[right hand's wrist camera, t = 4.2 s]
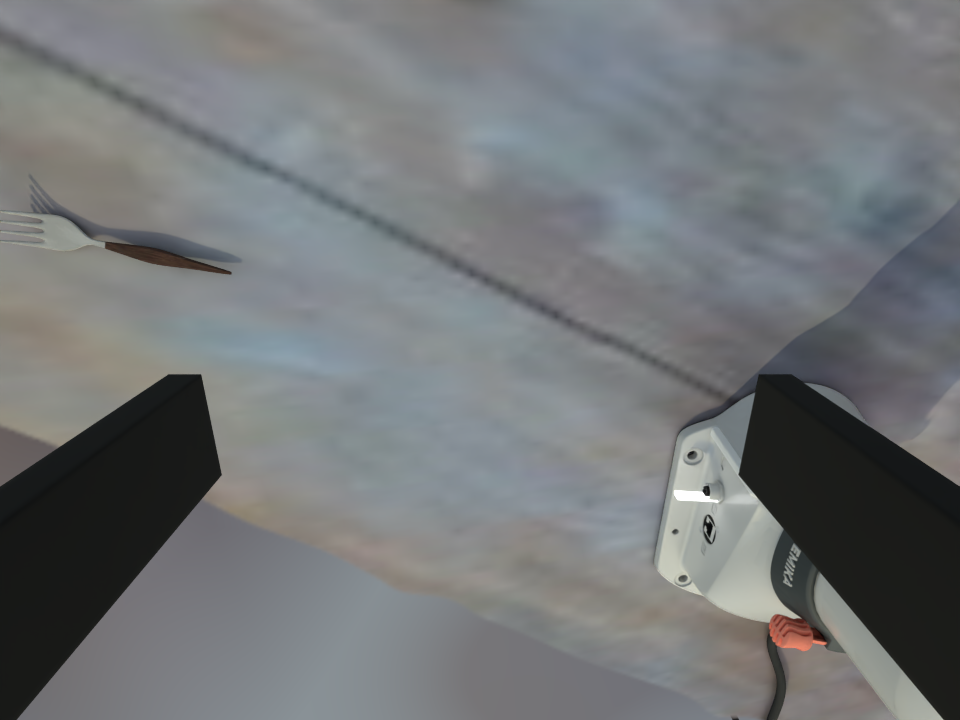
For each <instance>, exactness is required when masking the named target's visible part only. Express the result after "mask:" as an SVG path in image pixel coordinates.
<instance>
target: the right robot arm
mask: <svg viewBox="0 0 960 720" xmlns="http://www.w3.org/2000/svg"><path fill="white" fill-rule="evenodd" d="M221 475H222V474H221V469H220V464H219V459H218V454H217V450H216V445H215V440H214V435H213V430H212V425H211V420H210V415H209V411H208V406H207V401H206V396H205V391H204V386H203V381H202V376H201V374H169V375H167V376H166V377H164V378H163V379H161V380H160V381H158V382H157V383H155V384H154V385H152V386H151V387H149V388H148V389H146V390H145V391H143V392H142V393H140V394H139V395H137V396H136V397H134V398H133V399H131V400H130V401H128V402H127V403H125V404H124V405H122V406H121V407H119V408H118V409H116V410H115V411H113V412H112V413H110V414H109V415H107V416H106V417H104V418H103V419H101V420H100V421H98V422H97V423H95V424H94V425H92V426H91V427H89V428H88V429H86V430H85V431H83V432H82V433H80V434H79V435H77V436H76V437H74V438H73V439H71V440H70V441H68V442H67V443H65V444H64V445H62V446H61V447H59V448H58V449H56V450H55V451H53V452H52V453H50V454H49V455H47V456H46V457H44V458H43V459H41V460H40V461H38V462H37V463H35V464H34V465H32V466H31V467H29V468H28V469H26V470H25V471H23V472H22V473H20V474H19V475H17V476H16V477H14V478H13V479H11V480H10V481H8V482H7V483H5V484H4V485H2V486H1V487H0V720H17V719H18V717H19V716H20V715H21V714H22V713H23V711H24V710H25V709H26V708H27V707H28V706H29V704H30V703H31V702H32V701H33V700H34V698H35V697H36V696H37V695H38V694H39V692H40V691H41V690H42V689H43V688H44V686H45V685H46V684H47V683H48V682H49V680H50V679H51V678H52V677H53V676H54V675H55V673H56V672H57V671H58V670H59V669H60V667H61V666H62V665H63V664H64V663H65V661H66V660H67V659H68V658H69V657H70V655H71V654H72V653H73V652H74V651H75V649H76V648H77V647H78V646H79V645H80V643H81V642H82V641H83V640H84V639H85V638H86V636H87V635H88V634H89V633H90V631H91V630H92V629H93V628H94V627H95V626H96V624H97V623H98V622H99V621H100V620H101V618H102V617H103V616H104V615H105V614H106V612H107V611H108V610H109V609H110V608H111V606H112V605H113V604H114V603H115V602H116V601H117V599H118V598H119V597H120V596H121V595H122V593H123V592H124V591H125V590H126V589H127V587H128V586H129V585H130V584H131V583H132V581H133V580H134V579H135V578H136V577H137V575H138V574H139V573H140V572H141V571H142V570H143V568H144V567H145V566H146V565H147V564H148V562H149V561H150V560H151V559H152V558H153V556H154V555H155V554H156V553H157V552H158V550H159V549H160V548H161V547H162V546H163V544H164V543H165V542H166V541H167V540H168V538H169V537H170V536H171V535H172V534H173V533H174V531H175V530H176V529H177V528H178V527H179V525H180V524H181V523H182V522H183V521H184V519H185V518H186V517H187V516H188V515H189V513H190V512H191V511H192V510H193V509H194V507H195V506H196V505H197V504H198V503H199V502H200V500H201V499H202V498H203V497H204V496H205V494H206V493H207V492H208V491H209V490H210V488H211V487H212V486H213V485H214V484H215V482H216V481H217V480H218V479H219V478H220V476H221ZM738 475H739V476H740V478H741V479H742V480H743V481H744V482H745V484H746V485H747V486H748V487H749V488H750V490H751V491H752V492H753V493H754V494H755V496H756V497H757V498H758V499H759V500H760V502H761V503H762V504H763V505H764V506H765V507H766V509H767V510H768V511H769V512H770V513H771V515H772V516H773V517H774V518H775V519H776V521H777V522H778V523H779V524H780V525H781V527H782V528H783V529H784V530H785V531H786V533H787V534H788V535H789V536H790V537H791V539H792V540H793V541H794V542H795V543H796V544H797V546H798V547H799V548H800V549H801V550H802V552H803V553H804V554H805V555H806V556H807V558H808V559H809V560H810V561H811V562H812V564H813V565H814V566H815V567H816V568H817V570H818V571H819V572H820V573H821V574H822V575H823V577H824V578H825V579H826V580H827V581H828V583H829V584H830V585H831V586H832V587H833V589H834V590H835V591H836V592H837V593H838V595H839V596H840V597H841V598H842V599H843V601H844V602H845V603H846V604H847V605H848V607H849V608H850V609H851V610H852V611H853V612H854V614H855V615H856V616H857V617H858V618H859V620H860V621H861V622H862V623H863V624H864V626H865V627H866V628H867V629H868V630H869V632H870V633H871V634H872V635H873V636H874V638H875V639H876V640H877V641H878V642H879V643H880V645H881V646H882V647H883V648H884V649H885V651H886V652H887V653H888V654H889V655H890V657H891V658H892V659H893V660H894V661H895V663H896V664H897V665H898V666H899V667H900V669H901V670H902V671H903V672H904V673H905V675H906V676H907V677H908V678H909V679H910V680H911V682H912V683H913V684H914V685H915V686H916V688H917V689H918V690H919V691H920V692H921V694H922V695H923V696H924V697H925V698H926V700H927V701H928V702H929V703H930V704H931V706H932V707H933V708H934V709H935V710H936V711H937V713H938V714H939V715H940V716H941V717H942V719H943V720H960V486H958V485H956V484H955V483H953V482H952V481H950V480H949V479H947V478H946V477H944V476H943V475H941V474H940V473H938V472H937V471H935V470H934V469H932V468H931V467H929V466H928V465H926V464H925V463H923V462H922V461H920V460H919V459H917V458H916V457H914V456H913V455H911V454H910V453H908V452H907V451H905V450H904V449H902V448H901V447H899V446H898V445H896V444H895V443H893V442H892V441H890V440H889V439H887V438H886V437H884V436H883V435H881V434H880V433H878V432H877V431H875V430H874V429H872V428H871V427H869V426H868V425H866V424H865V423H863V422H862V421H860V420H859V419H857V418H856V417H854V416H853V415H851V414H850V413H848V412H847V411H845V410H844V409H842V408H841V407H839V406H838V405H836V404H835V403H833V402H832V401H830V400H829V399H827V398H826V397H824V396H823V395H821V394H820V393H818V392H817V391H815V390H814V389H812V388H811V387H809V386H808V385H806V384H805V383H803V382H802V381H800V380H799V379H797V378H796V377H794V376H793V375H791V374H759V376H758V381H757V386H756V391H755V396H754V401H753V406H752V411H751V415H750V420H749V425H748V430H747V435H746V440H745V445H744V450H743V454H742V459H741V464H740V469H739V474H738Z"/></svg>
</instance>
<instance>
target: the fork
mask: <svg viewBox="0 0 960 720" xmlns="http://www.w3.org/2000/svg"><path fill="white" fill-rule="evenodd" d="M0 212H2V213H8V214H14V215H21V216H27V217H33V218H38V219H41V220H43V222H42V223H32V222H19V221H3V220H0V222H2V223H8V224H15V225H21V226H28V227H34V228H39V229H42V230H43V232H41V233H36V232H21V231H4V230H0V232H2V233H9V234H16V235H23V236H30V237H37V238H41V239H43V240H44V242H26V241H7V240H0V242H4V243H12V244H19V245H26V246H34V247H41V248H46V249H52V250H58V251H71V250H75V249H78V248H81V247H83V246H86V245H95V246H99V247H102V248H105V249H108V250H111V251H114V252H117V253H120V254H123V255H126V256H129V257H132V258H135V259H138V260H141V261H145V262H148V263H152V264H157V265H163V266H171V267H179V268H187V269H195V270H202V271H208V272H215V273H222V274H231V273H232V272H230V271H227V270H224V269H221V268H218V267H214V266H211V265H208V264H204V263H201V262H198V261H194V260H191V259H188V258H185V257H182V256H179V255H176V254H173V253H170V252H167V251H164V250H160V249H156V248H151V247H144V246H137V245H129V244H120V243H112V242H104V241H98V240H94V239H92V238H90V237H89V236H87V235H86V234H85V233H84V232H83V231H82V230H81V229H80V228H79V227H78V226H77V225H75V224H74V223H73V222H72V221H70V220H68V219H67V218H64V217H62V216H58V215H53V214H41V213H30V212H18V211H5V210H0Z"/></svg>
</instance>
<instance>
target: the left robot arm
mask: <svg viewBox="0 0 960 720" xmlns="http://www.w3.org/2000/svg"><path fill="white" fill-rule="evenodd" d="M805 384H806V385H808V386H809V387H811V388H812V389H814V390H815V391H817V392H818V393H820V394H821V395H823V396H824V397H826V398H827V399H829V400H830V401H832V402H833V403H835V404H836V405H838V406H839V407H841V408H842V409H844V410H845V411H847V412H848V413H850V414H851V415H853V416H854V417H856V418H857V419H859V420H860V421H862V422H863V423H865V424H866V425H868V424H867V422H866V421H865V420H864V418H863V417H862V415H861V414H860V412H859V411H858V409H857V408H856V406H855V405H854V404H853V403H852V402H851V401H850V400H849V399H848V398H846V397H845V396H844V395H842V394H841V393H839V392H837V391H835V390H833V389H831V388H828V387H825V386H822V385H818V384H812V383H805ZM754 396H755V393H753V394H751V395H749V396H747V397H745V398H743V399H741V400H740V401H738V402H737V403H735V404H734V405H733V406H731V407H730V408H728V409H727V410H726V411H724V412H723V413H721V414H720V415H718V416H716V417H715V418H712V419H709V420H706V421H702V422H699V423H696V424H693V425H691V426H689V427H687V428H685V429H683V430H682V431H681V432H680V433H679V435H678V437H677V441H676V446H675V451H674V457H673V462H672V467H671V473H670V478H669V483H668V488H667V494H666V499H665V504H664V510H663V515H662V520H661V525H660V531H659V536H658V541H657V546H656V552H655V558H654V565H655V567H656V569H657V570H658V572H659V573H660V574H661V575H662V576H663V577H664V578H665V579H667V580H668V581H669V582H671V583H673V584H674V585H676V586H678V587H680V588H682V589H684V590H687V591H689V592H692V593H695V594H699V595H702V596H704V597H705V598H706V599H707V600H709V601H710V602H711V603H713V604H714V605H715V606H717V607H719V608H721V609H722V610H725V611H727V612H729V613H732V614H734V615H737V616H740V617H744V618H747V619H751V620H756V621H761V622H767V623H769V629H771V630H770V633H769V635H768V638H767V647H768V652H769V655H770V658H771V661H772V664H773V667H774V670H775V673H776V678H777V690H776V695H775V699H774V702H773V705H772V708H771V710H770V713H769V715H768V718H767V720H777V719H778V716H779V714H780V711H781V708H782V706H783V702H784V698H785V692H786V681H785V675H784V671H783V668H782V665H781V662H780V659H779V656H778V653H777V649H776V645H777V646H780V647H783V648H797V649H799V650H801V651H807V650H809V649H810V647H811V646H812V643H816V644H822V645H824V646H825V647H826V648H827V650H830V651H835V652H840V653H847V655H848V656H849V657H850V659H851V660H852V661H853V663H854V664H855V665H856V667H857V668H858V669H859V671H860V672H861V673H862V675H863V676H864V677H865V679H866V680H867V681H868V683H869V684H870V685H871V687H872V688H873V689H874V691H875V692H876V693H877V694H878V696H879V697H880V698H881V700H882V701H883V702H884V704H885V705H886V706H887V708H888V709H889V710H890V712H891V713H892V714H893V716H894V717H895V718H896V720H943V719H942V717H941V716H940V715H939V714H938V713H937V711H936V710H935V709H934V708H933V707H932V706H931V704H930V703H929V702H928V701H927V700H926V698H925V697H924V696H923V695H922V694H921V692H920V691H919V690H918V689H917V688H916V686H915V685H914V684H913V683H912V682H911V680H910V679H909V678H908V677H907V676H906V675H905V673H904V672H903V671H902V670H901V669H900V667H899V666H898V665H897V664H896V663H895V661H894V660H893V659H892V658H891V657H890V655H889V654H888V653H887V652H886V651H885V649H884V648H883V647H882V646H881V645H880V643H879V642H878V641H877V640H876V639H875V638H874V636H873V635H872V634H871V633H870V632H869V630H868V629H867V628H866V627H865V626H864V624H863V623H862V622H861V621H860V620H859V618H858V617H857V616H856V615H855V614H854V612H853V611H852V610H851V609H850V608H849V607H848V605H847V604H846V603H845V602H844V601H843V599H842V598H841V597H840V596H839V595H838V593H837V592H836V591H835V590H834V589H833V587H832V586H831V585H830V584H829V583H828V581H827V580H826V579H825V578H824V577H823V575H822V574H821V573H820V572H819V571H818V570H817V568H816V567H815V566H814V565H813V564H812V562H811V561H810V560H809V559H808V558H807V556H806V555H805V554H804V553H803V552H802V550H801V549H800V548H799V547H798V546H797V544H796V543H795V542H794V541H793V540H792V539H791V537H790V536H789V535H788V534H787V533H786V531H785V530H784V529H783V528H782V527H781V525H780V524H779V523H778V522H777V521H776V519H775V518H774V517H773V516H772V515H771V513H770V512H769V511H768V510H767V509H766V507H765V506H764V505H763V504H762V503H761V502H760V500H759V499H758V498H757V497H756V496H755V494H754V493H753V492H752V491H751V490H750V488H749V487H748V486H747V485H746V484H745V482H744V481H743V480H742V479H741V478H740V476H739V475H738V474H739V469H740V464H741V459H742V454H743V450H744V445H745V440H746V435H747V430H748V425H749V420H750V415H751V411H752V406H753V401H754ZM868 426H869V425H868ZM869 427H870V426H869ZM691 451H694V453H693V454H692V455H688V453H689V452H691ZM681 575H683V576H681ZM731 718H732V720H739V718H738V717H731Z"/></svg>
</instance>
